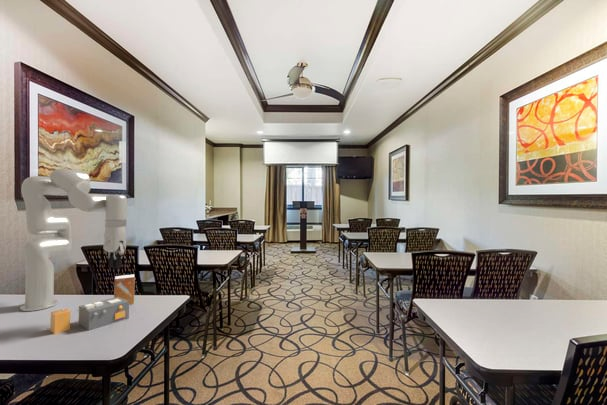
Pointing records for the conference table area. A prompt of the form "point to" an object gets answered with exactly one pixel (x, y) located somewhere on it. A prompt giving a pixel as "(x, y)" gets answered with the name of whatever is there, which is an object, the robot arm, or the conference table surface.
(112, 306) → the box
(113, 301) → the tagged breaker
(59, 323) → the cap
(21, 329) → the conference table surface
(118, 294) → the small box
